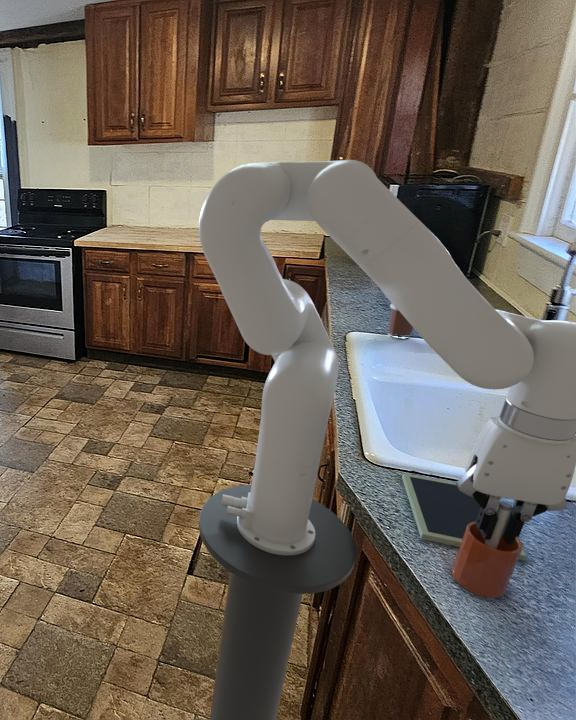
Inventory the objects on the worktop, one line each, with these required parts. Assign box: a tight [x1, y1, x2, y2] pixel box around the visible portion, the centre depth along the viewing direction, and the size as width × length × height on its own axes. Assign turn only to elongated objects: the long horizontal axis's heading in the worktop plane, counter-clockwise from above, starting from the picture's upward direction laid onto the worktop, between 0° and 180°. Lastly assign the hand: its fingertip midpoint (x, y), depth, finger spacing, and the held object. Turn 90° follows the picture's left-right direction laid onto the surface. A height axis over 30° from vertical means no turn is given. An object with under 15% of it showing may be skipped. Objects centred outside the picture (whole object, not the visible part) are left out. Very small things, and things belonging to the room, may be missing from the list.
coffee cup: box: [387, 302, 414, 337], centre depth 172 cm, size 9×9×12 cm
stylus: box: [485, 500, 513, 549], centre depth 74 cm, size 1×1×13 cm
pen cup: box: [451, 522, 524, 599], centre depth 75 cm, size 6×6×8 cm
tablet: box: [401, 472, 528, 562], centre depth 90 cm, size 14×18×1 cm
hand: (494, 534), depth 73 cm, fingers closed
